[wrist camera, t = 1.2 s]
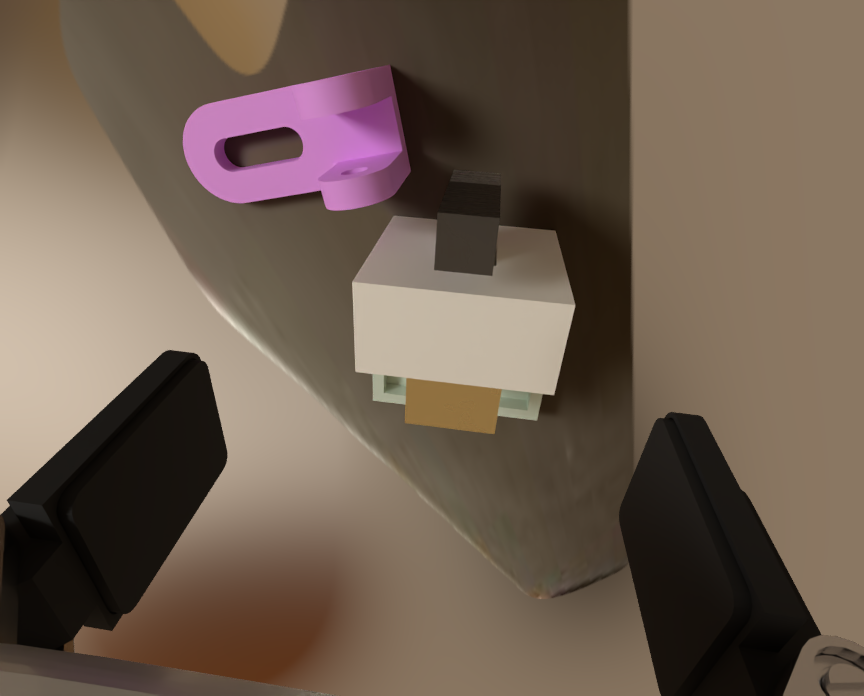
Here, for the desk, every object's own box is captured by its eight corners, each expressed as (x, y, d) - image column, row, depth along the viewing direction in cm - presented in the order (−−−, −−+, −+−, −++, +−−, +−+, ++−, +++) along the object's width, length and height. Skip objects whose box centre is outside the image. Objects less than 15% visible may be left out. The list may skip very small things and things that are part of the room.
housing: (393, 215, 31) (352, 282, 22) (555, 230, 30) (575, 305, 22) (392, 288, 33) (355, 371, 25) (541, 303, 33) (554, 395, 24)
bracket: (390, 64, 27) (358, 71, 21) (411, 170, 29) (388, 203, 24) (180, 109, 29) (99, 127, 23) (217, 203, 32) (153, 240, 26)
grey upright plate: (454, 169, 25) (437, 212, 19) (500, 173, 25) (500, 218, 19) (438, 373, 32) (422, 453, 26) (475, 377, 32) (468, 459, 26)
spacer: (418, 333, 29) (406, 373, 26) (502, 342, 29) (502, 384, 25) (416, 379, 31) (404, 422, 28) (495, 388, 31) (494, 434, 27)
